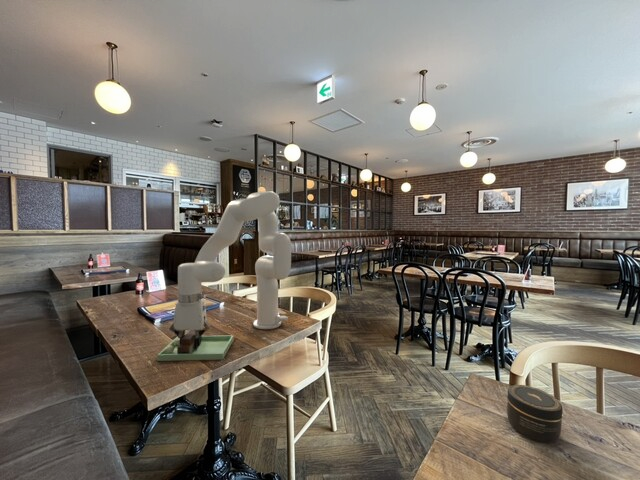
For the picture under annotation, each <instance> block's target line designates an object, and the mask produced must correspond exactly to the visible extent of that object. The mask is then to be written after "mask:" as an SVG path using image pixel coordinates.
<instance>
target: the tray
mask: <svg viewBox="0 0 640 480" xmlns="http://www.w3.org/2000/svg"><path fill="white" fill-rule="evenodd" d="M234 336H235V335H234V334H233V335H232V334H231V335H230V334H229V335H202V341H201V344H200V346H199V347H198V348H197V349H195V350H194V351H193V352H192V353H191V354H177V347H178V346H179V345H175V344H174V341H175V339H178V336H177V335H176V337H175V338H174V339H173V340H172V341H170V343H169V344H167V345H166V346H165V347H164V348H163V349H162V350H161V351H160V352H159V353H158V354H156V359H157V360H156V361H157V362H171V361H172V362H174V361H212V360H213V361H215V360H216V361H218V360H224V358H225V356H226V355H227V353H228V351H229V349H230V348H231V345H232V344H233V342H234V340H235V339H234ZM168 346H173V347H174V351H173V352H172V353H167V352H166V349H167V347H168Z"/></svg>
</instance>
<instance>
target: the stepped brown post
mask: <svg viewBox="0 0 640 480" xmlns="http://www.w3.org/2000/svg"><path fill="white" fill-rule="evenodd" d="M202 336H203V334H202V335H201V341H202ZM195 338H196V335H195V330H188V332H187V333H185V336H184V337H183V338H182V339H181V344H180V345H179V346H178V347H177V354H191V353H192V352H193V351H194V350H195V346H194V345H195V342H194V339H195Z"/></svg>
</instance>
